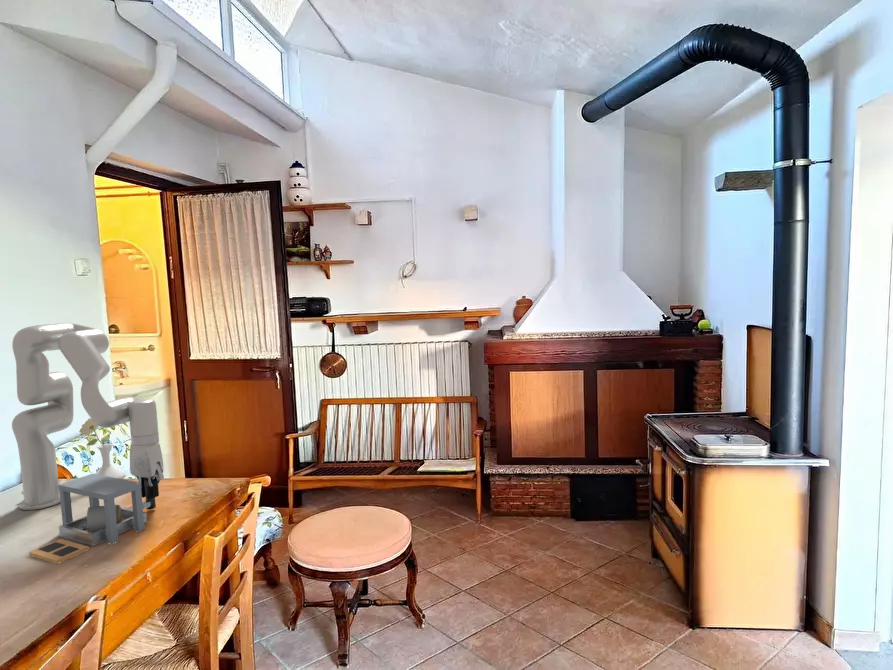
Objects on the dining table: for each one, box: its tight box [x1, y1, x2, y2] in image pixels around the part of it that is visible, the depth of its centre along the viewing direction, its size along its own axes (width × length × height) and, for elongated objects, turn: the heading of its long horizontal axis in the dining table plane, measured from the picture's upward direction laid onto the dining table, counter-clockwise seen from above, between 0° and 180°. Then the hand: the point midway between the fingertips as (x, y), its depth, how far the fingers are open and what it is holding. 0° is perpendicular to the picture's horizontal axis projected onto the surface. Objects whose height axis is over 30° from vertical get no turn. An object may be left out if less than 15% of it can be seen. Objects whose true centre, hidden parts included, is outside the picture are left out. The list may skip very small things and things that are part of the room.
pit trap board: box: [28, 538, 89, 565], centre depth 149 cm, size 12×8×1 cm, turn 64°
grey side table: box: [58, 473, 146, 545], centre depth 161 cm, size 22×10×14 cm, turn 64°
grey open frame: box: [58, 478, 157, 547], centre depth 165 cm, size 15×24×10 cm, turn 154°
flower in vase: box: [78, 417, 127, 480], centre depth 201 cm, size 13×11×25 cm
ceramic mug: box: [86, 504, 122, 533], centre depth 163 cm, size 11×8×8 cm
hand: (150, 496), depth 175 cm, fingers closed on grey open frame, 2 cm apart
